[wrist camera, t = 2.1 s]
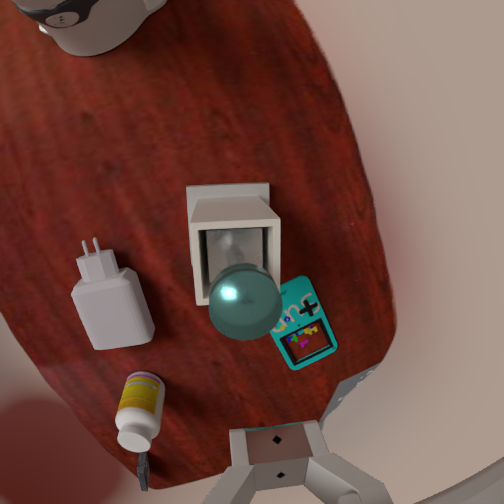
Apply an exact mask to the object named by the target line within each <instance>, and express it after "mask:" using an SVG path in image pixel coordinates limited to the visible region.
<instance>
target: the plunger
mask: <svg viewBox="0 0 504 504" xmlns="http://www.w3.org/2000/svg"><path fill="white" fill-rule="evenodd" d="M206 234H207V250H208V265H209V279H210V283H212V284H211V286H210V291H209V315H210V318H211V321H212V323H213V325H214V326H215V327H216V329H217V330H218V331H220V332H221V333H222V334H224V335H225V336H227V337H230V338H233V339H237V340H252V339H256V338H259V337H261V336H263V335H265V334H267V333H268V332H270V331H271V330H272V329H273V328H274V327H275V326H276V324H277V323H278V321H279V319H280V317H281V314H282V309H283V302H282V298H281V295H280V292H279V290H278V288H277V286H276V284H275V281H274V279H273V278H272V276H271V275H270V274H269V273H268V272H267V271H266V270H265V269H263V252H262V227H246V228H225V229H206Z"/></svg>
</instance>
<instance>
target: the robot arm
mask: <svg viewBox="0 0 504 504" xmlns="http://www.w3.org/2000/svg"><path fill="white" fill-rule="evenodd" d="M11 1H13V2H14V3H15V5H16V7H17V8H18V9H19V10H20V11H21V12H22V13H23V14H24V15H27V16H28V17H30V18H31V19H33V20H34V21H36V22H37V23H38V24H39V29H40V30H41V31H42V32H43V33H44V34H46V35H49V36H52V37H53V38H54V40H55V41H56V42H57V44H58V45H59V46H60V47H61V48H62V49H63V50H64V51H65V52H67V53H69V54H72V55H76V56H92V55H97V54H101V53H104V52H106V51H109V50H111V49H113V48H115V47H116V46H118V45H120V44H121V43H122V42H124V41H125V40H126V39H128V38H129V37H130V36H131V35H132V34H133V33H134V32H135V31H136V30H137V29H138V28H139V26H140V25H141V24H142V22H143V21H144V20H145V19H146V18H147V17H148V16H149V15H150V14H152V13H153V12H155V11H156V10H158V9H159V8H161V7H162V6H163V5H164V4H165V3H166V1H167V0H11ZM229 435H230V446H231V457H232V467H228V468H227V469H226V470H225V472H224V473H223V475H222V476H221V478H220V479H219V480H218V482H217V483H216V484H215V486H214V487H213V488H212V490H211V491H210V492H209V494H208V495H207V496H206V498H205V499H204V500H203V502H202V503H201V504H249V503H250V501H251V500H252V498H253V496H254V494H255V492H256V491H260V490H267V489H274V488H281V487H289V486H297V485H303V484H304V486H305V487H306V488H307V489H308V490H310V491H311V492H312V493H313V494H314V495H315V496H316V497H318V498H319V499H320V500H321V501H322V502H324V503H325V504H393V502H392V500H391V498H390V495H389V494H388V491H387V489H386V487H385V485H384V483H382V482H381V481H379V480H377V479H375V478H374V477H372V476H370V475H369V474H367V473H365V472H364V471H362V470H360V469H359V468H357V467H355V466H354V465H352V464H351V463H349V462H347V461H346V460H344V459H343V458H341V457H340V456H338V455H337V454H335V453H329V450H328V448H327V445H326V443H325V440H324V437H323V435H322V432H321V430H320V427H319V424H318V422H317V421H316V420H312V421H305V422H297V423H291V424H284V425H277V426H272V427H260V428H246V429H245V430H244V429H231V430H230V432H229ZM414 504H504V457H502V458H501V459H499V460H498V461H496V462H495V463H493V464H491V465H490V466H488V467H486V468H485V469H483V470H481V471H479V472H478V473H476V474H474V475H473V476H471V477H469V478H467V479H465V480H463V481H461V482H459V483H458V484H456V485H454V486H452V487H450V488H448V489H446V490H443V491H441V492H439V493H437V494H435V495H433V496H431V497H428V498H426V499H424V500H422V501H419V502H417V503H414Z"/></svg>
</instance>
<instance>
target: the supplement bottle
mask: <svg viewBox="0 0 504 504" xmlns="http://www.w3.org/2000/svg"><path fill="white" fill-rule="evenodd" d="M164 397H165V386H164V383H163V382H162V380H161V379H160V378H159V377H157V376H156V375H154V374H152V373H149V372H143V371H141V372H135V373H133V374H131V375H130V376H129V377H128V379H127V381H126V384H125V387H124V391H123V394H122V398H121V401H120V404H119V408H118V411H117V415H116V425H117V427H118V429H119V430H120V431H119V434H118V442H119V443H120V445H121V446H123V447H124V448H125V449H127V450H130V451H133V452H145V451H147V450H149V449H150V446H151V442H152V440H151V439H153V438H155V437H156V436H157V435H158V433H159V431H160V425H161V417H162V410H163V403H164Z"/></svg>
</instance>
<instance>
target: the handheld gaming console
mask: <svg viewBox="0 0 504 504" xmlns="http://www.w3.org/2000/svg"><path fill="white" fill-rule="evenodd" d="M280 295H281V298H282V302H283V309H282V314H281V317H280V319H279V321H278V323H277V324H276V326H275V327H274V328H273V329H272V330H271V331H270V334H271V335H272V337H273V339H274V341H275V342H276V344H277V346H278V348H279V350H280V351H281V353H282V355H283V357H284V358H285V360H286V362H287V364H288V365H289V367H290V368H291V369H293V370H298V369H300V368H302V367H305V366H307V365H309V364H311V363H313V362H315V361H317V360H319V359H321V358H323V357H325V356H327V355H329V354H331V353H333V352H334V351H335V350H336V349H337V342H336V340H335V337H334V335H333V333H332V330H331V328H330V326H329V323H328V321H327V319H326V316H325V314H324V312H323V309H322V307H321V305H320V303H319V300H318V298H317V296H316V293H315V291H314V289H313V287H312V284H311V282H310V280H309V279H308V277H306V276H304V275H301V276H298V277H296V278H294V279H292V280H290V281H288V282H286V283H284V284H282V285H280ZM316 322H319V324H320V326H321V328H322V331H323V333H324V335H325V337H326V339H327V341H328V343H329V345H328V346H326V347H324V348H322V349H320V350H318V351H316V352H314V353H312V354H310V355H308V356H306V357H304V358H302V359H300V360H298V361H295V359H294V357H293V355H292V354H291V352H290V350H289V348H288V347H287V345H286V343H285V341H284V340H283V339H284V338H287V340H288V342H291V341H293V340H295V342H297V341H298V339H297V337H296V336H298V335H300V334H302V333H304V332H305V334H308V333H309V335H311V334H312V332H311V331H313V330H314V331H315V332H317V331H318V330H317V328H316V326H315V327H312V325H314V324H315V323H316ZM296 332H298V333H296ZM295 333H296V334H295ZM307 342H309V341H308V340H305V341H303V342H301V343H300V345H301V347H304V344H305V343H307Z"/></svg>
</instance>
